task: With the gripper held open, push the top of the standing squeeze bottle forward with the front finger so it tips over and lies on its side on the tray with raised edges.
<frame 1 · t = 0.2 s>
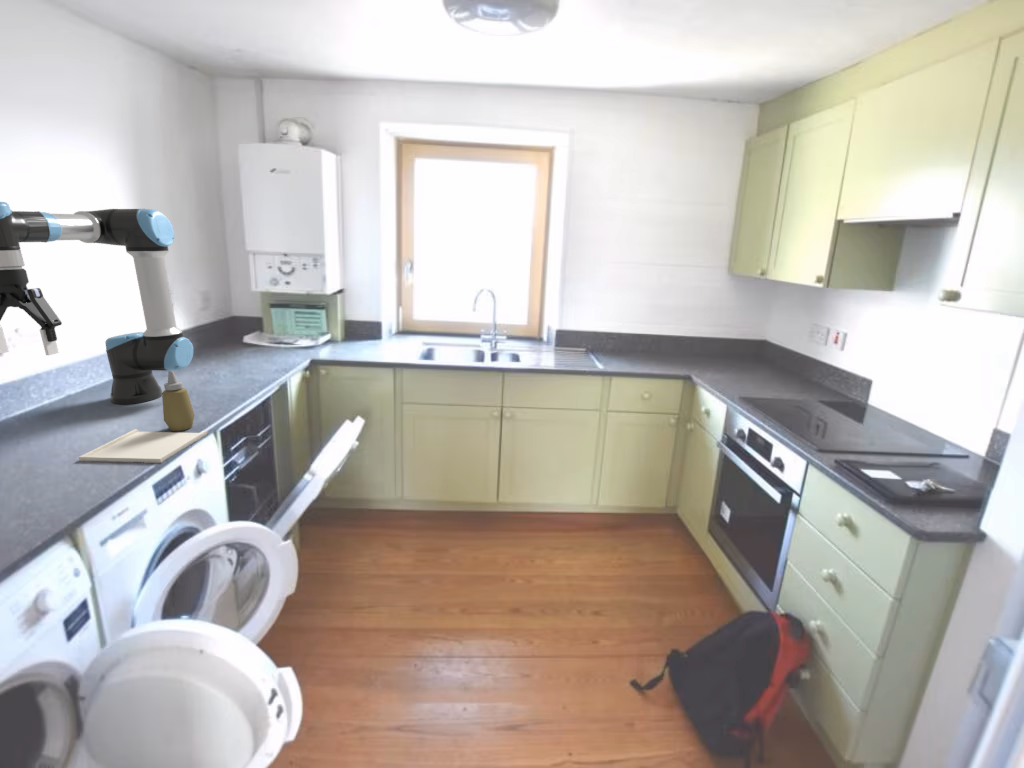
hand: (27, 353, 133), 28 cm above the counter, fingers open, 13 cm apart
tray: (147, 446, 146), on the counter
squeeze bottle: (181, 428, 160), on the counter
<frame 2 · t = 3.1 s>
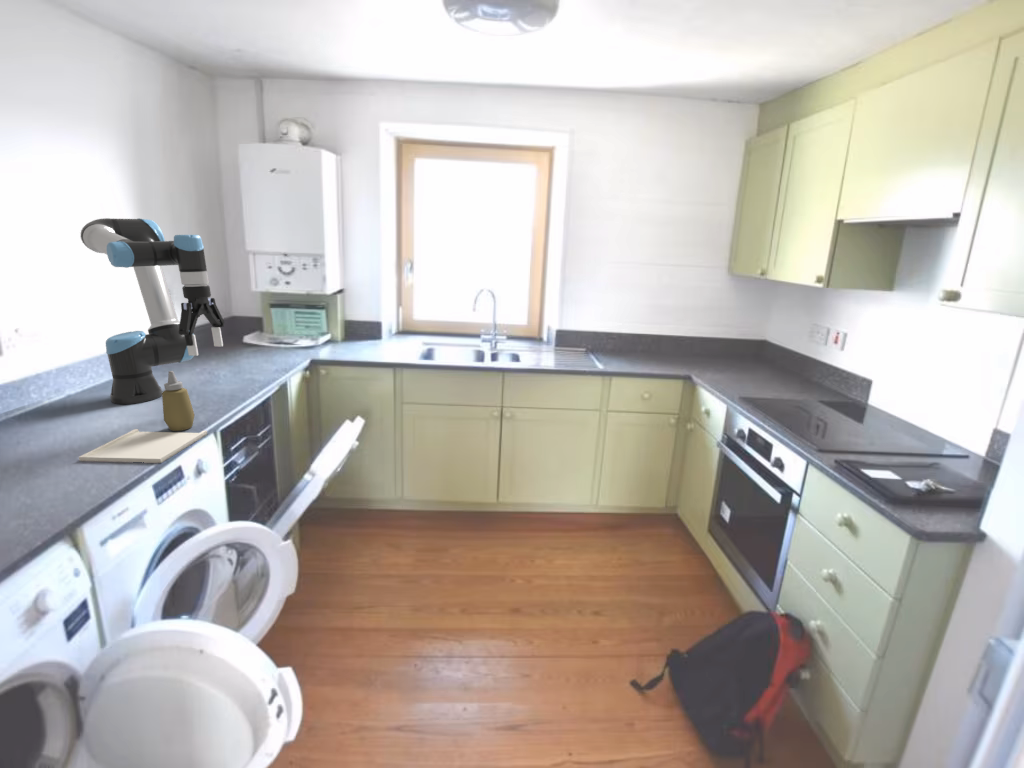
hand: (206, 350, 171), 20 cm above the counter, fingers open, 13 cm apart
nothing on the counter moved.
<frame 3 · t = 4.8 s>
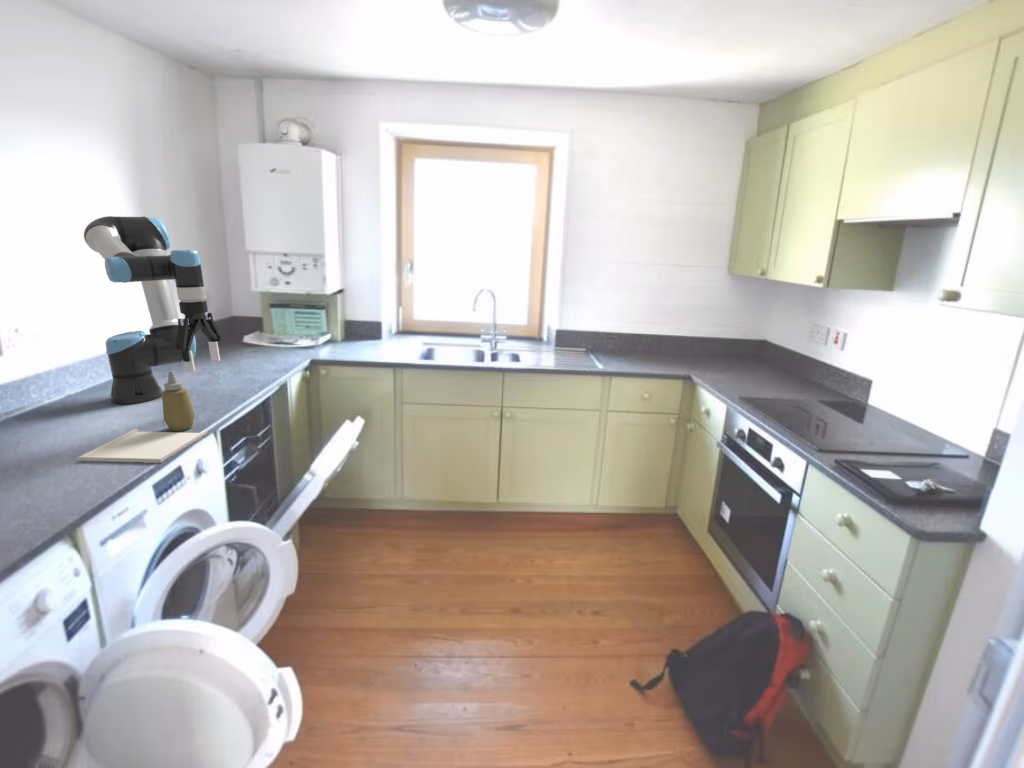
hand: (203, 365, 170), 16 cm above the counter, fingers open, 13 cm apart
nothing on the counter moved.
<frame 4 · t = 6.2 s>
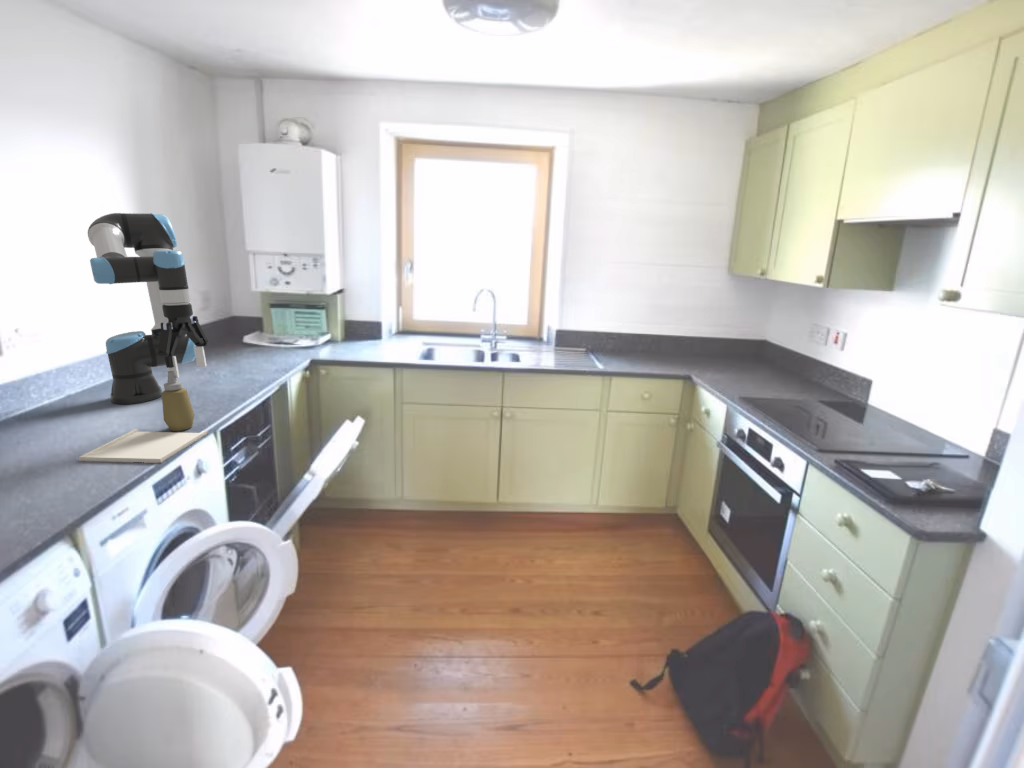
hand: (188, 371, 162), 16 cm above the counter, fingers open, 13 cm apart
squeeze bottle: (181, 428, 160), on the counter, touching gripper
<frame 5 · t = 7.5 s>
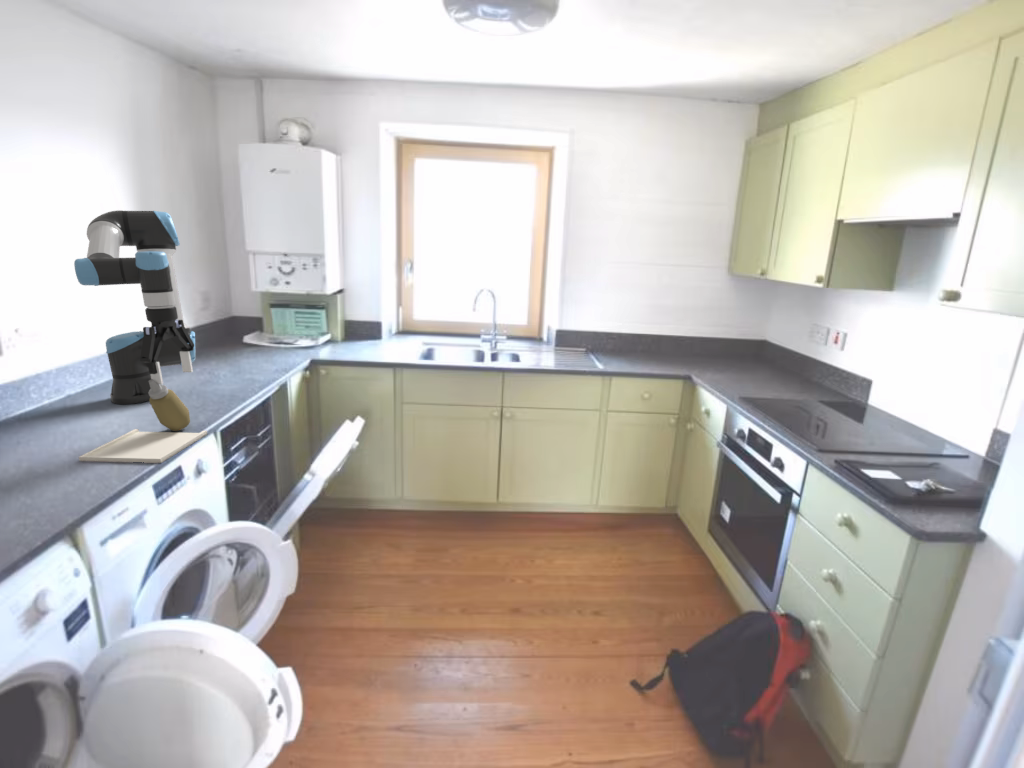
hand: (173, 377, 156), 16 cm above the counter, fingers open, 13 cm apart
squeeze bottle: (180, 424, 159), point 1 cm above the counter, touching gripper
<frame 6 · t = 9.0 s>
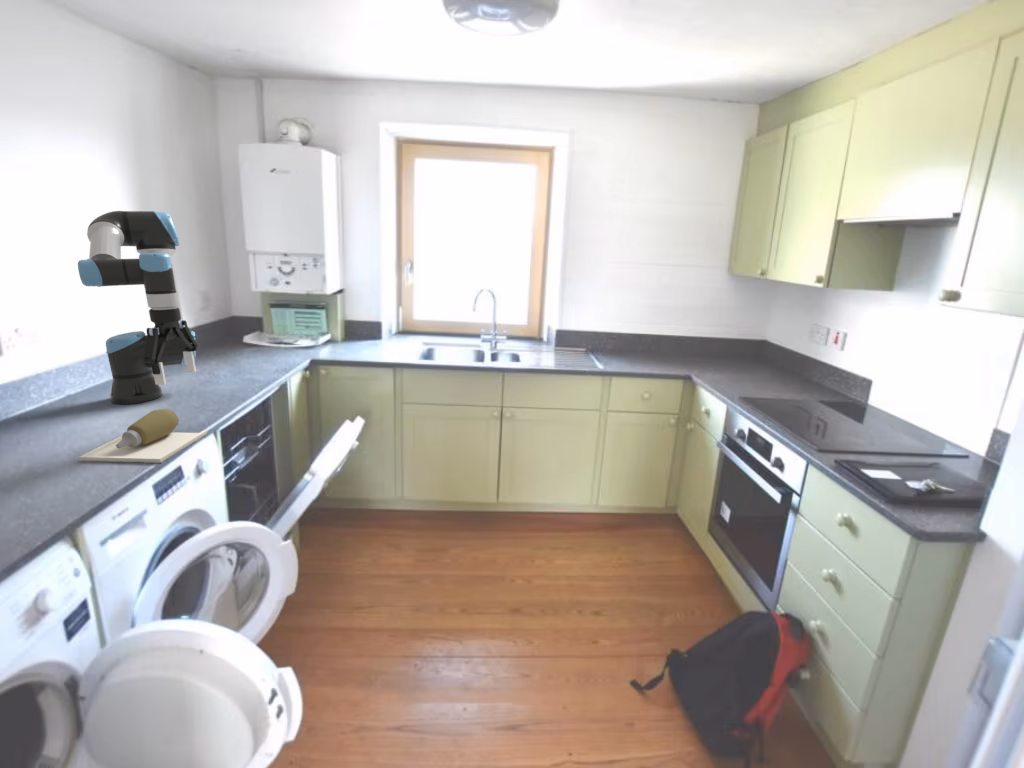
hand: (176, 377, 157), 15 cm above the counter, fingers open, 13 cm apart
squeeze bottle: (170, 417, 155), point 5 cm above the counter, touching tray
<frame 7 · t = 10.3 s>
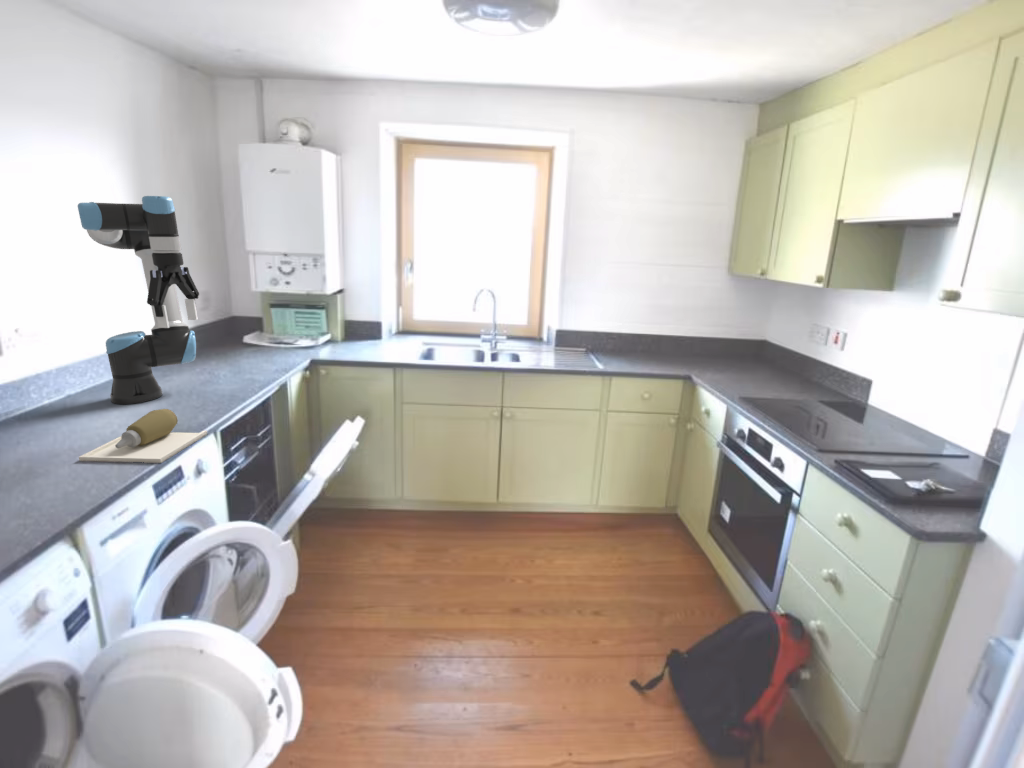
hand: (179, 323, 159), 31 cm above the counter, fingers open, 13 cm apart
nothing on the counter moved.
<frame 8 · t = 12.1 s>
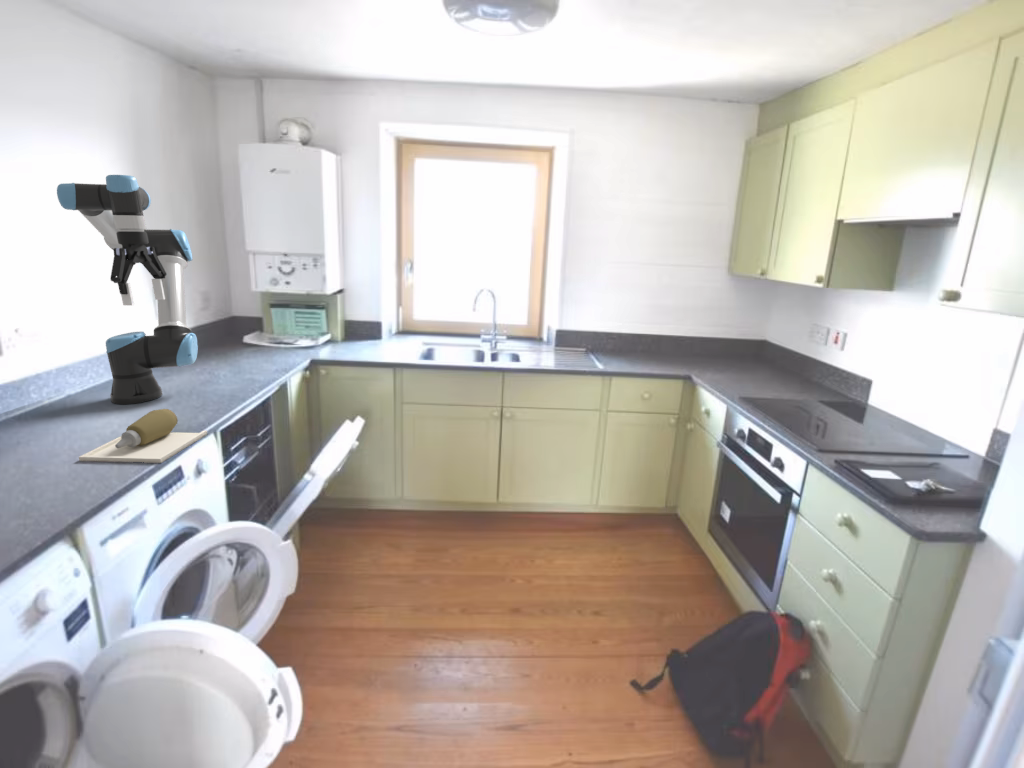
hand: (145, 302, 161), 37 cm above the counter, fingers open, 13 cm apart
nothing on the counter moved.
at the end: squeeze bottle tilted 95°; squeeze bottle touching tray; the gripper is holding nothing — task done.
